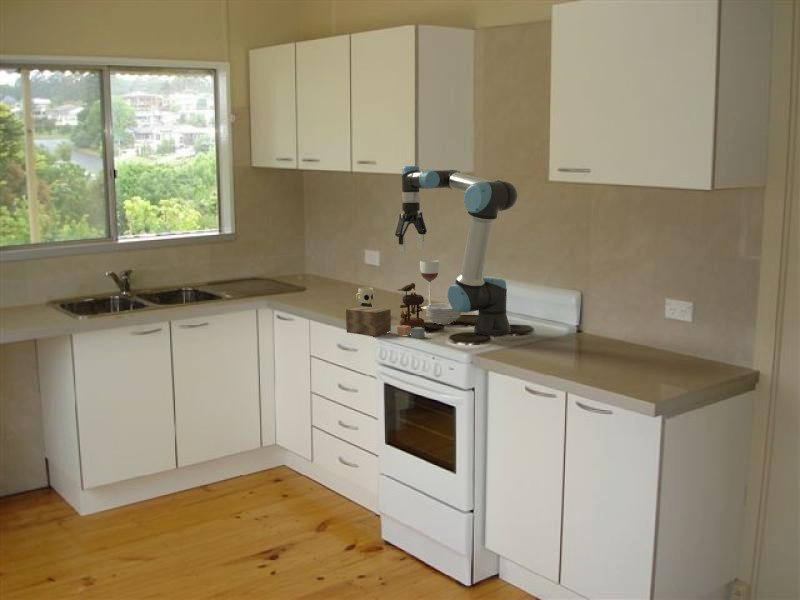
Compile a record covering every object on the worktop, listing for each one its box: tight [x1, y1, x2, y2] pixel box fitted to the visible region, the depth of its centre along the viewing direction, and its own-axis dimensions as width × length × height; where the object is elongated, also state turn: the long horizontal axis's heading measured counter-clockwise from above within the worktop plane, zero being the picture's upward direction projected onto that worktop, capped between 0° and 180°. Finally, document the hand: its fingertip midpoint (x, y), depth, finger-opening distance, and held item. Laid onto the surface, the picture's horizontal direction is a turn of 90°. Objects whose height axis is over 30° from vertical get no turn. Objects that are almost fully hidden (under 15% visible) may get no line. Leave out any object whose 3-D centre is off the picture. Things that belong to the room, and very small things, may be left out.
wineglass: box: [419, 259, 440, 310], centre depth 449 cm, size 9×10×23 cm
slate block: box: [410, 327, 426, 340], centre depth 377 cm, size 4×4×4 cm
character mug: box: [355, 287, 377, 307], centre depth 428 cm, size 11×7×13 cm, turn 125°
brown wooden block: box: [345, 305, 392, 337], centre depth 388 cm, size 16×10×10 cm, turn 53°
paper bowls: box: [425, 302, 462, 325], centre depth 408 cm, size 15×15×8 cm
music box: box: [397, 282, 425, 327], centre depth 398 cm, size 15×11×20 cm
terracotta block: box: [396, 325, 411, 336], centre depth 381 cm, size 4×4×4 cm
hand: (411, 250), depth 402 cm, fingers open, 13 cm apart
